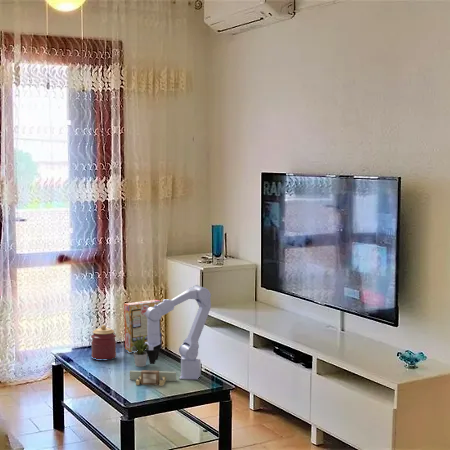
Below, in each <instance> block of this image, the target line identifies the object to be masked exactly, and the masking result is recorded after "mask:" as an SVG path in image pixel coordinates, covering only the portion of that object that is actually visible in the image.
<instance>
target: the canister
mask: <svg viewBox="0 0 450 450" xmlns="http://www.w3.org/2000/svg"><path fill="white" fill-rule="evenodd" d="M100 326H101V327H99V328H98V327H97V328H96V329H95V330H93V331H92V335H91V336H90V337H91V342H90V343H91V358H92V357H93V358H96V359H112V358H114V359H116V358H117V348H116V347H117V341H116V337H117V335H116V334H115V330H114V329H113V328H110V327H107V326H106V324H102V325H100ZM115 357H116V358H115ZM112 360H113V359H112Z"/></svg>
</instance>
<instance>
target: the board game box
mask: <svg viewBox="0 0 450 450" xmlns="http://www.w3.org/2000/svg"><path fill="white" fill-rule="evenodd" d="M161 302H162V300H159V299H151V300H142V301H136V302H135V301H133V302H126V303H124V304H123V305H124V306H123V307H124V310H123V311H124V314H123V315H124V317H123V318H124V350H125V349H126V350H128V351H129V352H132V351H136V350H137V349H136V347H135V346H134V345H132V344H134V343H133V342H132V340H133V341H135V342H137V340H136V337H137V338H138V340H139V337H140V334H141V340H142V338H143V336H144V335H147V317H146V316H145V313H146V311H147V309H148V308H150V307H154V305H158V304H159V303H161ZM159 323H160V344H163V342H162V341H163V340H162V339H163V338H162V336H163V335H162V317H161V318H160V320H159ZM135 336H136V337H135ZM130 337H131V338H130ZM130 339H132V340H130ZM147 340H148V338H147V336H146V337H145V340H144V342H145V341H147ZM147 342H148V341H147ZM135 344H136V343H135ZM144 344H145V343H144ZM136 345H137V344H136ZM145 345H146V344H145ZM130 347H133V348H131V349H132V350H131V349H130ZM146 348H148V346H147V347H146ZM134 349H136V350H134ZM160 349H163V345H161V347H160Z"/></svg>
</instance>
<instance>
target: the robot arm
mask: <svg viewBox="0 0 450 450" xmlns="http://www.w3.org/2000/svg"><path fill="white" fill-rule="evenodd" d="M211 297H212V294H211V292H210V290H209V288H207V287H203V286H201V285H198V284H195V285H193V286H192V287H188V288H187V289H186V290H185V291H182V293H180V294H178V295H176V296H175V297H174V298H171V299H168V298H166V299H165V298H164V299H162V301H161V303H159V304H158V305H154V307H150V308H148V309H147V311H146V313H145V316H146V317H147V338H148V342H145V344H147V345H148V346H149V349H146V351H145V352H147V358H148V361H149V365H155V364H156V361H158V360H159V354H160V350H161V348H160V347H161V345H162V344H163V343H162V344H160V323H159V320H160V318H161V319H162V317H163V316H165V315H167V314H168V313H170V312H172V311H174V308H175V307H176V306H178V305H180V304H182V303H184V302H187V301H188V300H195V301H196V303H197V305H198V309H197V312H196V314H195V317H194V320H193V321H192V325H191V327H190V330H189V333H188V335H187V337H186V338H184V340H183V342H182V344H181V345H180V346H179V347H178V348H179V349H178V352H179V354H180V376H179V377H178V378H179V380H199V379H200V378H201V376H202V374H201V373H202V369H201V368H202V367H201V366H202V365H201V363H202V362H201V359H200V358H197V357H198V355H199V348H200V345H199V340H200V337H201V336H202V335H201V334H202V331H203V329H204V328H205V327H204V326H205V325H206V322H207V318H208V317H209V313H210V311H211V308H212V302H211ZM162 346H163V345H162ZM200 375H201V376H200ZM199 377H200V378H199ZM198 378H199V379H198Z"/></svg>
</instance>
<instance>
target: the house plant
mask: <svg viewBox="0 0 450 450" xmlns="http://www.w3.org/2000/svg"><path fill="white" fill-rule="evenodd" d="M146 336H147V335H144V336H143V338H142V340H141V334H140V337H139V340H138V338H137V337H136V336H135V337H136V340H137V342H135V341H133V340H132V339H130V340H132V342H133V343H134V344H132V345H134V346H135V347H136V349H137V350H138V351H137V350H136V349H134V350H136V351H137V352H135V353H133V358H134V359H133V360H134V364H135V367H138V368H139V367H146V365H147V359H148V354H147V352H146V351H145V349H149V346H148V345H147V344H146V345H145V344H144V343H145V342H147V341H148V340H147V341H145V342H144V340H145V337H146ZM130 338H131V337H130ZM135 343H136V344H137V345H136V344H135ZM147 346H148V348H146V347H147ZM131 348H133V347H130V349H131ZM131 350H132V349H131Z"/></svg>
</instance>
